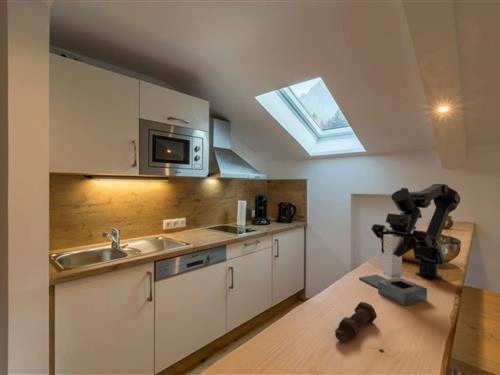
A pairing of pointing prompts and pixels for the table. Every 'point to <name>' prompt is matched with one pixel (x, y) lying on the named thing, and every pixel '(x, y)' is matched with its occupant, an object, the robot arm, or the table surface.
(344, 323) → the bolt
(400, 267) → the steel peg
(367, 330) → the table surface
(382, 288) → the socket block
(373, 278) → the rubber mat
